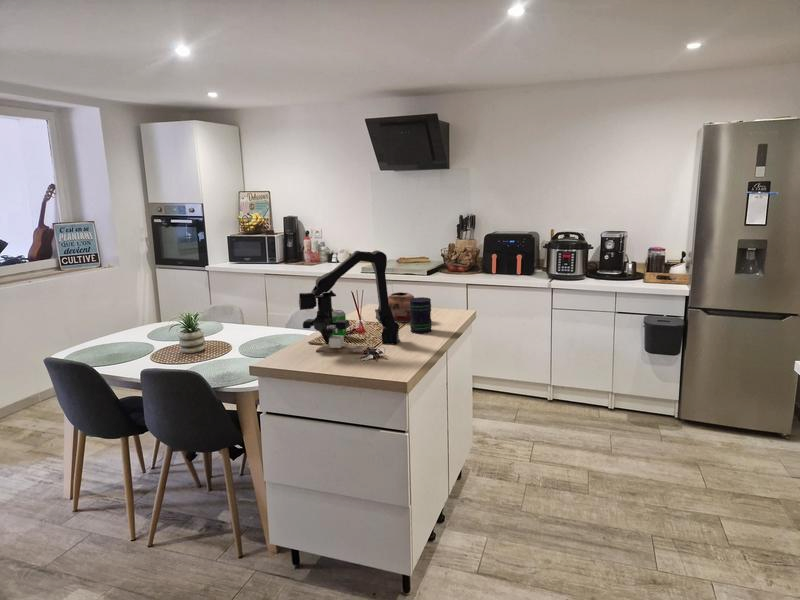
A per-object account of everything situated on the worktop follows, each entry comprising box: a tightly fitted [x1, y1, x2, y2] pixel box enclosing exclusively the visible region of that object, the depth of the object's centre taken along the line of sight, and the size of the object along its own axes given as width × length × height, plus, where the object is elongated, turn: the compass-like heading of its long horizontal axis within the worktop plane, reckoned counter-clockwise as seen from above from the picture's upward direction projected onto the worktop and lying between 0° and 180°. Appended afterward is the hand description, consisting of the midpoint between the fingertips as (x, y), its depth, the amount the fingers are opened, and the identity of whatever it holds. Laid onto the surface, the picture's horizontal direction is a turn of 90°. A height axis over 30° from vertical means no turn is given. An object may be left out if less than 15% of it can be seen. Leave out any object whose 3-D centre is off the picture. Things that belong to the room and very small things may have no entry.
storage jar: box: [409, 297, 433, 335], centre depth 254 cm, size 10×10×15 cm
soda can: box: [331, 309, 347, 337], centre depth 249 cm, size 8×8×12 cm
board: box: [315, 343, 370, 355], centre depth 230 cm, size 20×9×1 cm, turn 76°
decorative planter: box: [388, 291, 415, 323], centre depth 276 cm, size 20×12×14 cm, turn 68°
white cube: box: [329, 335, 345, 348], centre depth 230 cm, size 4×4×4 cm
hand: (327, 344), depth 231 cm, fingers closed
